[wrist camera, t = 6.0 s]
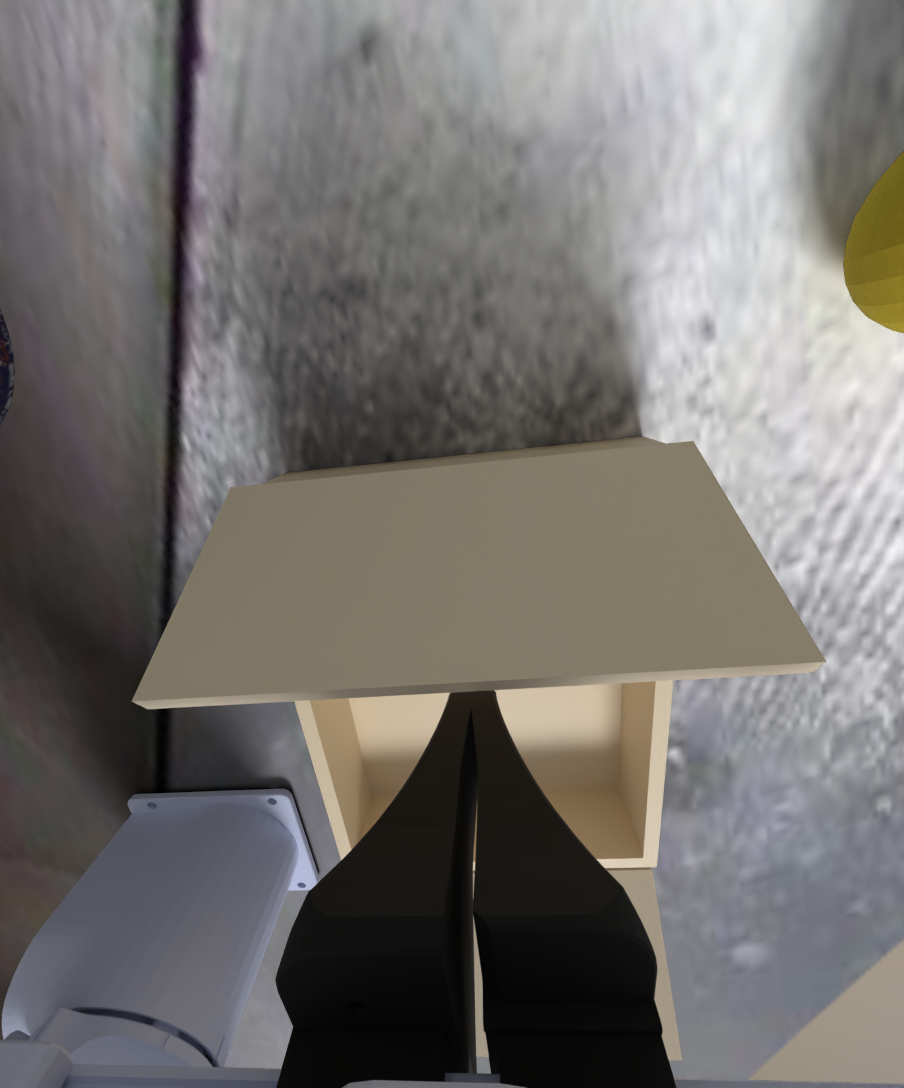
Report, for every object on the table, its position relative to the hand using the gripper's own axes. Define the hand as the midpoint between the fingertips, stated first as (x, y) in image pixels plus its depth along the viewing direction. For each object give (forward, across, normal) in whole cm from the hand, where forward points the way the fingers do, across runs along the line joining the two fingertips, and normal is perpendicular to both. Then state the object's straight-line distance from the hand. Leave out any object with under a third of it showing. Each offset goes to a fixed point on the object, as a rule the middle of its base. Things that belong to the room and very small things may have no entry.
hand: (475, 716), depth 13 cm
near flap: (0, 0, -5) cm, 5 cm away
